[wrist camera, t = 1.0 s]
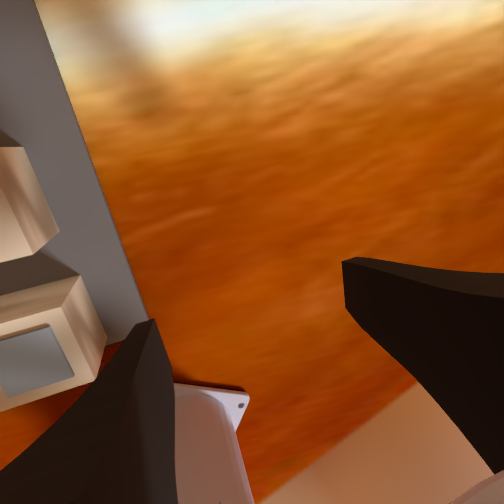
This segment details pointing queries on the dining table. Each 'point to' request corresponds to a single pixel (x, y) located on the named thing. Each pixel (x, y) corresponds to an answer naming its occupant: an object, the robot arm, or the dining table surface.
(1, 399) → the marked block 2
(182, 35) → the dining table surface
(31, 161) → the mat
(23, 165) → the plain block
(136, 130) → the dining table surface
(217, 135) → the dining table surface
